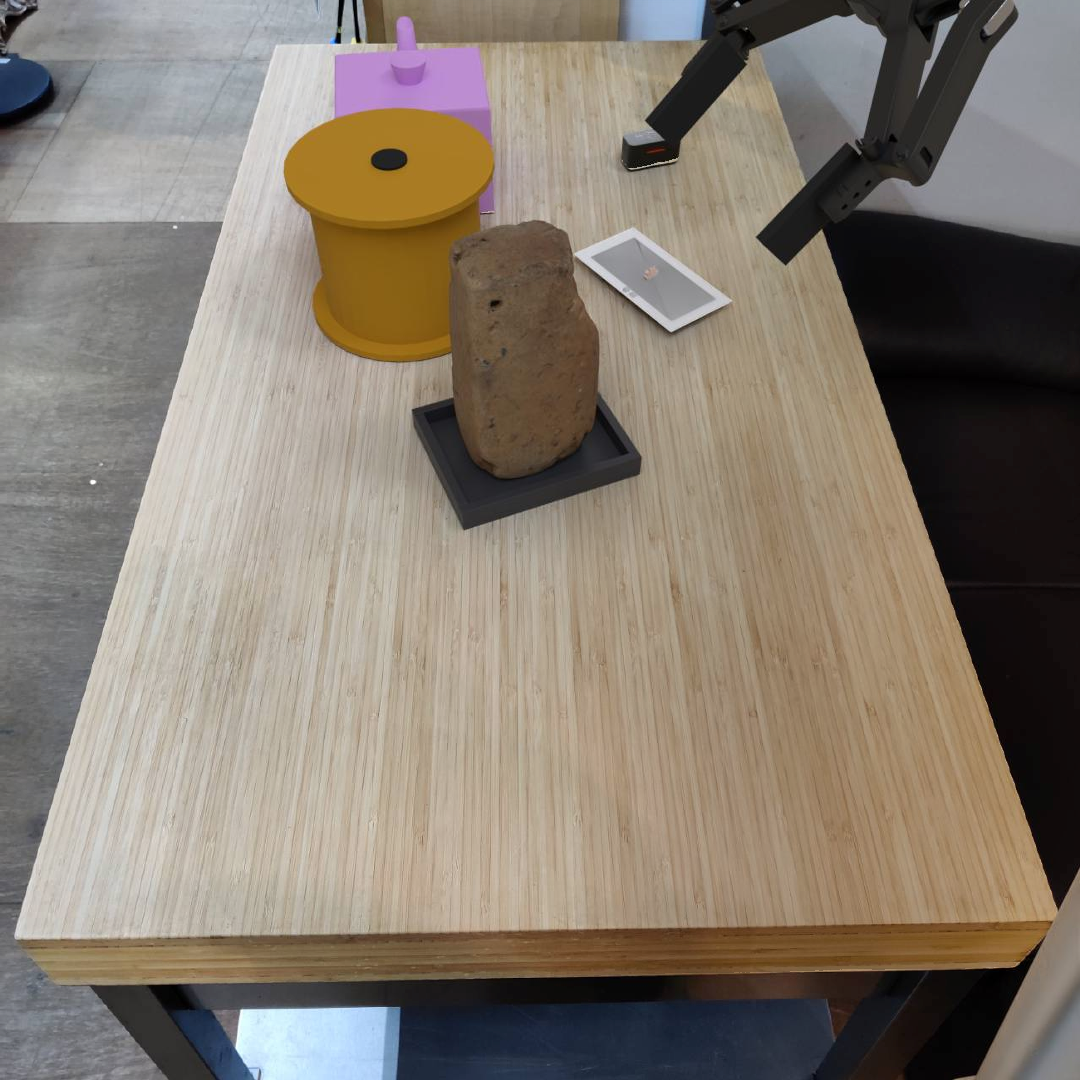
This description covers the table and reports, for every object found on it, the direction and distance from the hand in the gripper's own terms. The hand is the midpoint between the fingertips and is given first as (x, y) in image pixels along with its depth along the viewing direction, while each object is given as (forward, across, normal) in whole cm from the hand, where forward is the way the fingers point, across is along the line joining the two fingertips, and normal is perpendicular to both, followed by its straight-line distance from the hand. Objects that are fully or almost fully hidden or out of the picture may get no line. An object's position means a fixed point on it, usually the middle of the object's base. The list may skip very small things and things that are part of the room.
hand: (710, 190), depth 59 cm
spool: (+28, +32, -11) cm, 44 cm away
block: (+25, +9, -13) cm, 30 cm away
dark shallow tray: (+26, +9, -13) cm, 30 cm away
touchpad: (+12, +25, -28) cm, 39 cm away
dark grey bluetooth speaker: (+4, +46, -35) cm, 58 cm away
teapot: (+22, +52, -17) cm, 59 cm away
